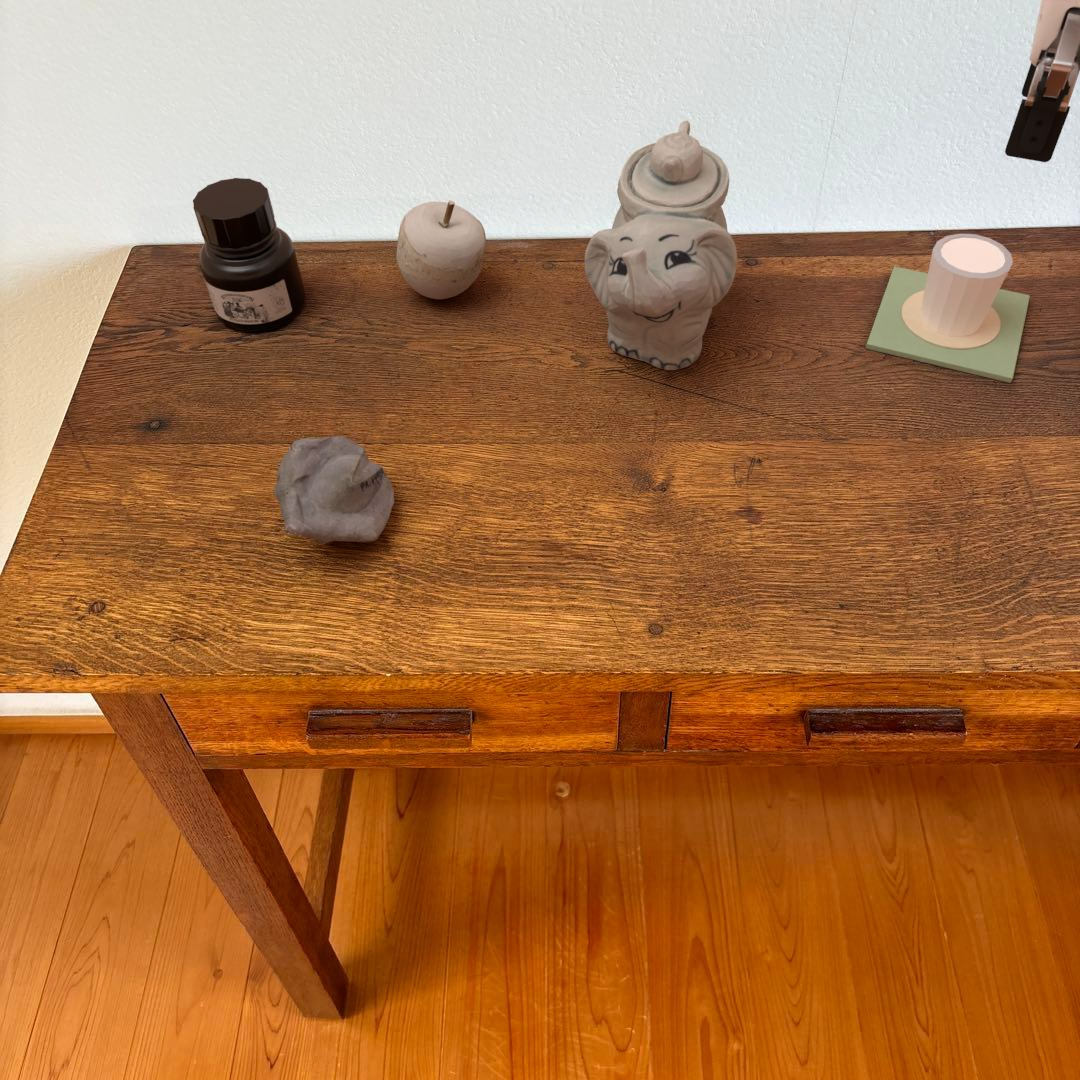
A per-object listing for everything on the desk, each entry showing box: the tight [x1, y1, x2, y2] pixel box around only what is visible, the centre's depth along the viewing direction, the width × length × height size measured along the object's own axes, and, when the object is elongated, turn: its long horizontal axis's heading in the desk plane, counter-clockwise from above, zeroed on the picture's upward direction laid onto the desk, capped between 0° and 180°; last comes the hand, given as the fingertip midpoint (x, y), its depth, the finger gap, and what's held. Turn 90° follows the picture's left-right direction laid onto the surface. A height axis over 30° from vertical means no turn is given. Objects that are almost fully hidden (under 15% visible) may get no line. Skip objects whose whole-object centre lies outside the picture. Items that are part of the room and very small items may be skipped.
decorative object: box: [395, 200, 487, 300], centre depth 98 cm, size 9×9×10 cm
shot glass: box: [920, 233, 1014, 337], centre depth 93 cm, size 7×7×7 cm
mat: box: [865, 265, 1031, 384], centre depth 96 cm, size 13×13×1 cm
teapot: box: [584, 120, 738, 371], centre depth 89 cm, size 16×15×19 cm
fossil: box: [273, 435, 395, 545], centre depth 79 cm, size 11×9×8 cm
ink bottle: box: [192, 177, 306, 332], centre depth 96 cm, size 10×9×12 cm
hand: (1034, 126), depth 77 cm, fingers open, 9 cm apart
